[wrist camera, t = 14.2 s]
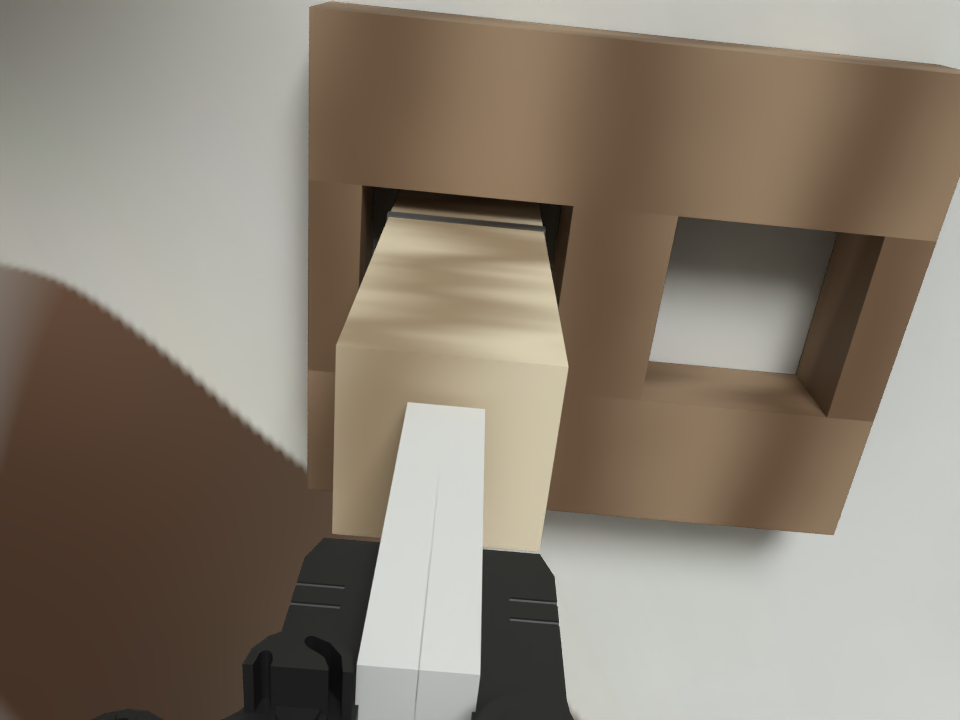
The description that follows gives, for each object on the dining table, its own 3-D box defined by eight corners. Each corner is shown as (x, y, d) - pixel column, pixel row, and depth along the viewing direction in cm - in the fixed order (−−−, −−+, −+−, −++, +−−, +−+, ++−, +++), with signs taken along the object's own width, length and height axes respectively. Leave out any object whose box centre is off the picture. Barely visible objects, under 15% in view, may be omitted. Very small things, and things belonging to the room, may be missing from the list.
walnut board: (939, 64, 24) (993, 77, 22) (803, 484, 31) (833, 535, 28) (330, 1, 24) (309, 6, 21) (323, 442, 30) (307, 488, 28)
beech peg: (539, 198, 26) (572, 364, 16) (523, 327, 28) (541, 553, 18) (399, 185, 26) (333, 342, 15) (392, 315, 28) (329, 535, 17)
